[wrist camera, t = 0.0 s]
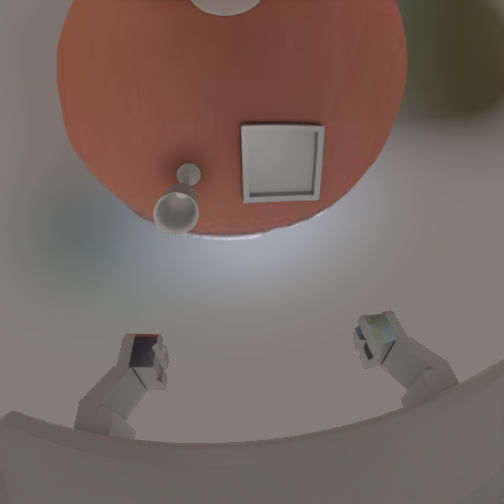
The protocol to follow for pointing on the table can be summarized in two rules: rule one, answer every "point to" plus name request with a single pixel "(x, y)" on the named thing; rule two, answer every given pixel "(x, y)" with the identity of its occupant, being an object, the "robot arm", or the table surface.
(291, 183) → the tray
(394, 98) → the table surface
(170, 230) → the chalice
